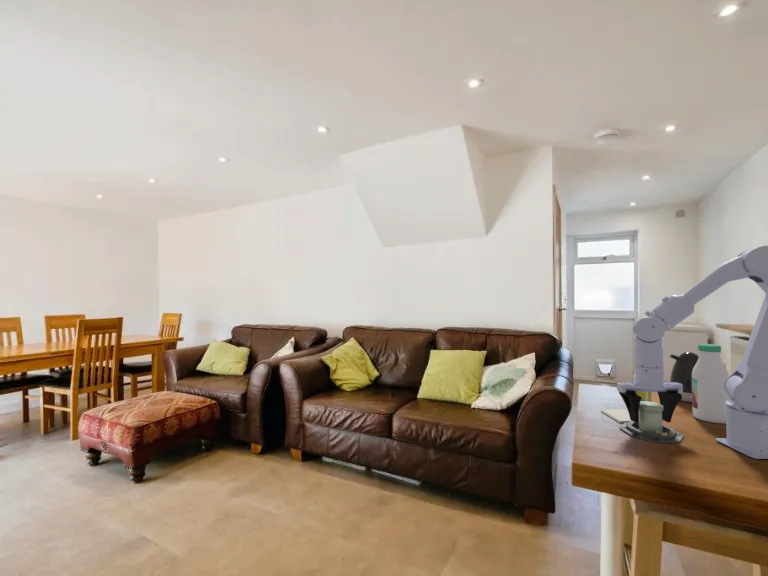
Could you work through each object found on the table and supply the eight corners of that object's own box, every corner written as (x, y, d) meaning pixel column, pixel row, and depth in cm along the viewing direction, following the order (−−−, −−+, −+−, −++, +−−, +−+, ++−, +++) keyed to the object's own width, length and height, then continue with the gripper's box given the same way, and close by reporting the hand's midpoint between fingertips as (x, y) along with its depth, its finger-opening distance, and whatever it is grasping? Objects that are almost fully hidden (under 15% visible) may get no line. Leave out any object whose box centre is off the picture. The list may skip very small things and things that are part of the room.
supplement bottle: (645, 401, 114) (644, 374, 114) (655, 405, 109) (654, 377, 109) (629, 400, 115) (628, 374, 115) (638, 405, 110) (637, 377, 110)
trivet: (655, 422, 96) (655, 420, 96) (620, 423, 96) (620, 420, 96) (632, 411, 105) (632, 409, 105) (601, 411, 105) (601, 409, 105)
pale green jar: (670, 437, 86) (670, 408, 86) (648, 437, 87) (647, 408, 87) (653, 428, 92) (652, 400, 92) (632, 428, 93) (631, 400, 93)
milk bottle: (737, 421, 95) (735, 345, 96) (720, 426, 93) (718, 347, 93) (703, 412, 103) (701, 341, 103) (686, 416, 100) (683, 343, 100)
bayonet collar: (695, 442, 83) (695, 435, 83) (642, 443, 84) (642, 435, 84) (658, 423, 95) (658, 417, 95) (611, 423, 96) (611, 417, 96)
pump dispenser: (662, 395, 119) (660, 349, 119) (698, 396, 118) (696, 349, 118) (682, 405, 109) (680, 354, 109) (721, 406, 107) (720, 355, 108)
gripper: (667, 362, 93) (668, 415, 93) (609, 362, 94) (610, 415, 94) (689, 368, 86) (690, 425, 86) (626, 368, 87) (627, 425, 87)
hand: (650, 420), depth 90 cm, fingers open, 7 cm apart
